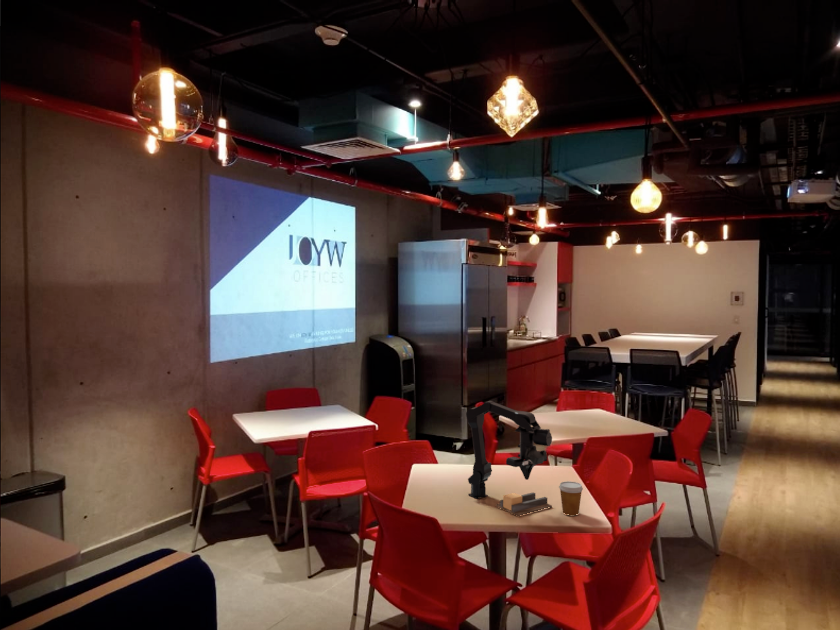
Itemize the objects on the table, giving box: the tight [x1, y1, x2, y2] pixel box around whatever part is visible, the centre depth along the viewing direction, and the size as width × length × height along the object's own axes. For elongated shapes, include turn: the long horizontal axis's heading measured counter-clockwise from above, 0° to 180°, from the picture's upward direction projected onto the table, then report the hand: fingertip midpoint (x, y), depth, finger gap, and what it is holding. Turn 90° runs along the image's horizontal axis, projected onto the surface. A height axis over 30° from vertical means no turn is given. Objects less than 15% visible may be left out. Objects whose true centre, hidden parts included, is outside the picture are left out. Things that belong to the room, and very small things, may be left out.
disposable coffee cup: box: [558, 480, 584, 515], centre depth 241 cm, size 10×10×12 cm
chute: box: [495, 492, 553, 517], centre depth 248 cm, size 14×19×4 cm
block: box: [502, 492, 522, 510], centre depth 245 cm, size 5×6×5 cm
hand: (526, 479), depth 249 cm, fingers closed
